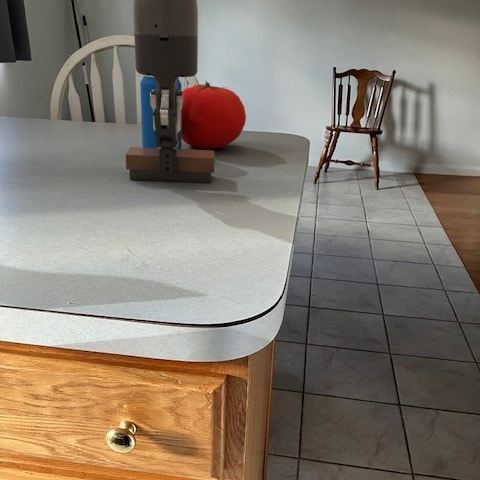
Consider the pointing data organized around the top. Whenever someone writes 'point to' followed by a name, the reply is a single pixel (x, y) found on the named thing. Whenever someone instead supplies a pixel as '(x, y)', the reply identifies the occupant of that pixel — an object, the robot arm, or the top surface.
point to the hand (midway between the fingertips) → (168, 177)
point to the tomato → (211, 116)
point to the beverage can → (150, 112)
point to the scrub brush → (188, 165)
